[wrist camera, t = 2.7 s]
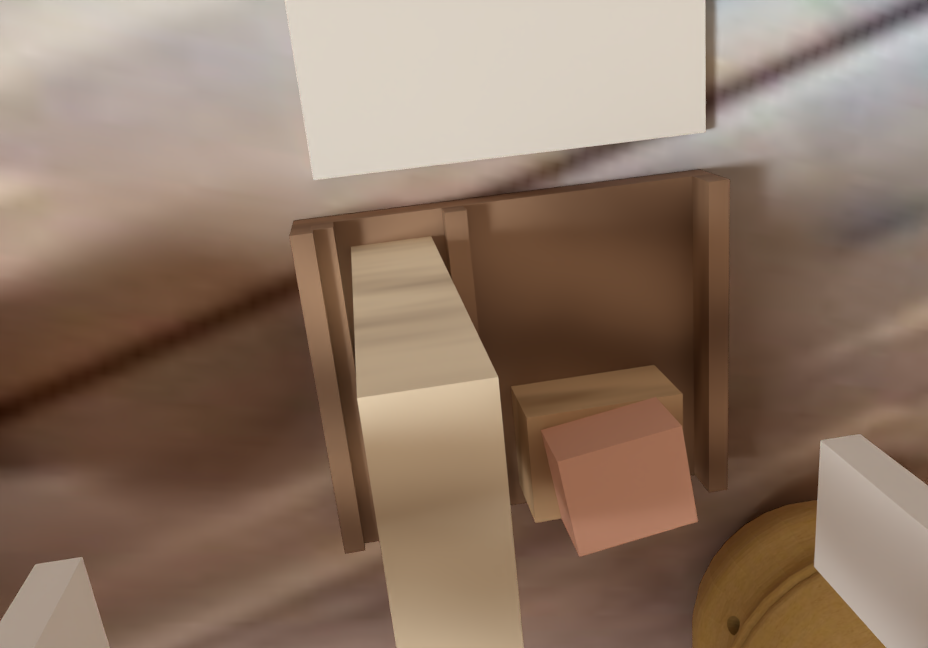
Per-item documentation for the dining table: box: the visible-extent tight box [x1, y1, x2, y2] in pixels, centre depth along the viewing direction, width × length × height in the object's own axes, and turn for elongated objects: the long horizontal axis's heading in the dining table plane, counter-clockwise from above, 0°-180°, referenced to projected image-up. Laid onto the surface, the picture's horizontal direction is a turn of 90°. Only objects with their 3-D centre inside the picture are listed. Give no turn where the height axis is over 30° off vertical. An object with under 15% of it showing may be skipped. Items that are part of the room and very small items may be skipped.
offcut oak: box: [511, 365, 683, 523], centre depth 32 cm, size 4×6×3 cm
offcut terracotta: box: [541, 397, 698, 557], centre depth 30 cm, size 4×4×2 cm
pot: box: [692, 500, 886, 648], centre depth 35 cm, size 12×12×10 cm
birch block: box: [351, 236, 524, 648], centre depth 25 cm, size 9×3×14 cm, turn 6°
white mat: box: [284, 0, 706, 180], centre depth 30 cm, size 8×15×1 cm, turn 96°
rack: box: [289, 169, 730, 554], centre depth 32 cm, size 13×16×3 cm
